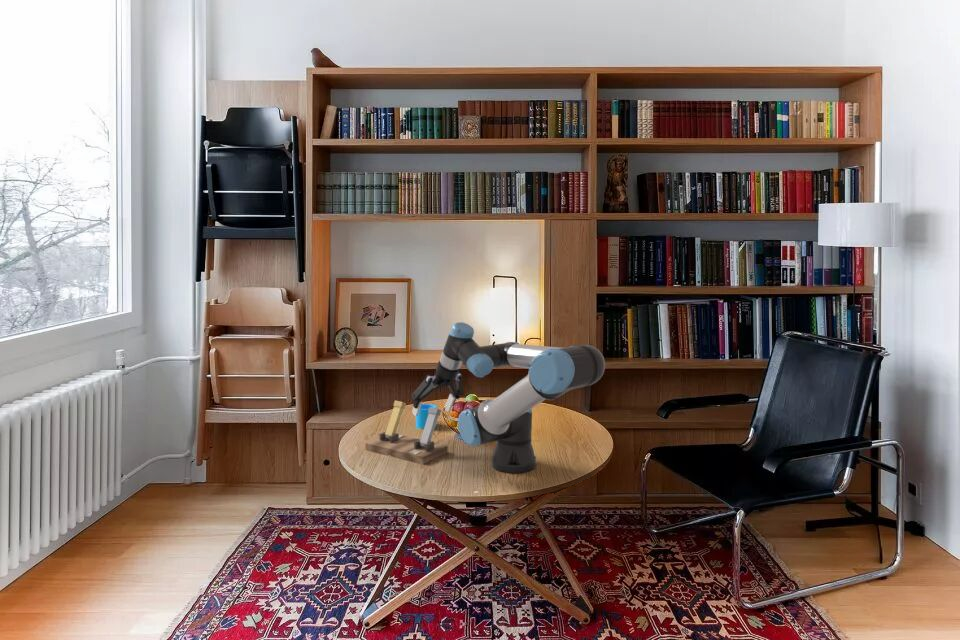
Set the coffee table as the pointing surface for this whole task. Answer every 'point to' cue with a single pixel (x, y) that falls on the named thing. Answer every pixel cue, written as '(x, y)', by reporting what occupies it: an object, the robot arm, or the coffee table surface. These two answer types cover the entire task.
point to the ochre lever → (395, 418)
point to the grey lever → (429, 426)
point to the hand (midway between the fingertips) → (431, 412)
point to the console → (406, 448)
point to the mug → (423, 415)
